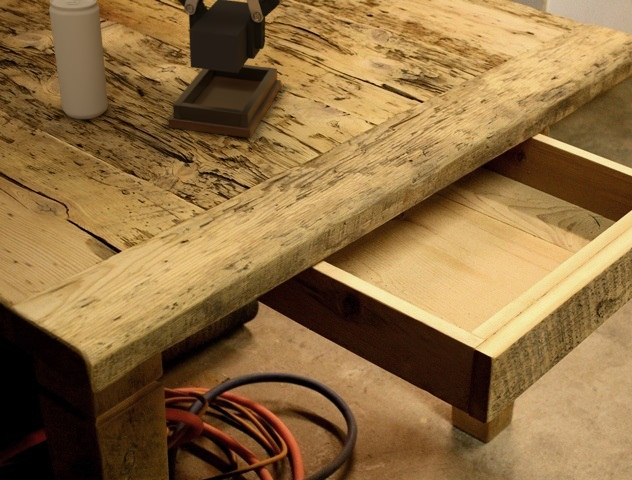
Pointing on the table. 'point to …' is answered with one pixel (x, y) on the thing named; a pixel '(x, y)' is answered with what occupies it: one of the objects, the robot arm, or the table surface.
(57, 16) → the beverage can
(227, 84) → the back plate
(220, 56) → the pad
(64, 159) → the table surface
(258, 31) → the robot arm
